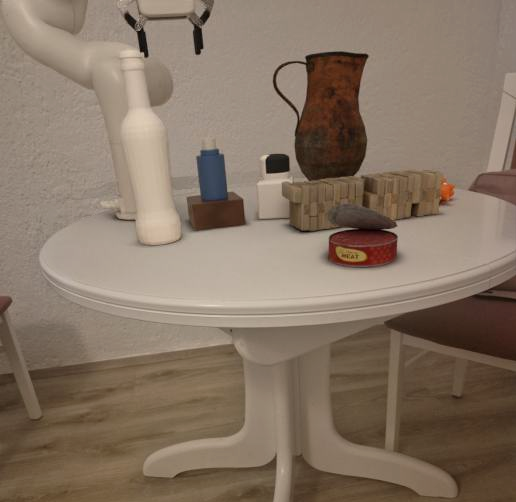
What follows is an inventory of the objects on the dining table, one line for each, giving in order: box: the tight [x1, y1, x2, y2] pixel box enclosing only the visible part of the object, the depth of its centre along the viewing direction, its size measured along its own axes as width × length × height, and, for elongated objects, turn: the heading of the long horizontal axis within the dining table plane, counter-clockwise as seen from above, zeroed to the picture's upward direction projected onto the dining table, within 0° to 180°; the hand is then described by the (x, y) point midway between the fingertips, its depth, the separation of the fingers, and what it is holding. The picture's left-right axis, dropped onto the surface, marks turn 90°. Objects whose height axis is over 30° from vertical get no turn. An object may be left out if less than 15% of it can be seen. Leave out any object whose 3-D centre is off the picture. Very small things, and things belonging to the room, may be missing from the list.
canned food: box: [327, 203, 399, 268], centre depth 70 cm, size 11×10×10 cm
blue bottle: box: [195, 137, 229, 200], centre depth 94 cm, size 5×5×11 cm
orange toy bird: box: [440, 177, 456, 202], centre depth 102 cm, size 5×8×12 cm
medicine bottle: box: [256, 153, 295, 220], centre depth 98 cm, size 7×7×12 cm
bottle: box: [119, 50, 182, 246], centre depth 82 cm, size 8×8×30 cm
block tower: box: [282, 168, 444, 232], centre depth 91 cm, size 8×8×29 cm
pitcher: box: [272, 50, 370, 181], centre depth 111 cm, size 17×21×30 cm
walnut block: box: [186, 191, 246, 232], centre depth 98 cm, size 10×10×5 cm
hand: (172, 55), depth 90 cm, fingers open, 9 cm apart
